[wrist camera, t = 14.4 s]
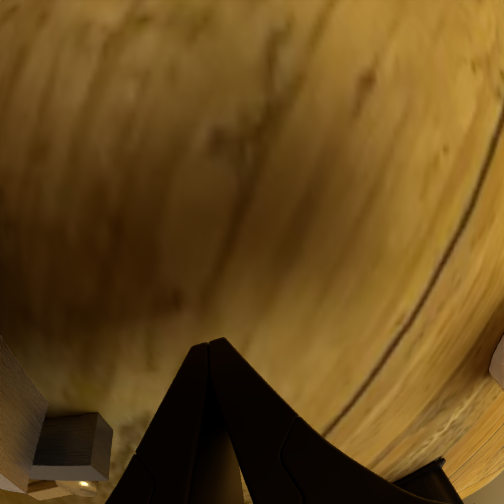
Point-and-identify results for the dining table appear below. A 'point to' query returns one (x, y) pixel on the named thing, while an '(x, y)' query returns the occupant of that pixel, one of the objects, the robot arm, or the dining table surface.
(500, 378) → the white cup
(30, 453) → the block
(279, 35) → the dining table surface
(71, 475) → the frame
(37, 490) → the brass key
